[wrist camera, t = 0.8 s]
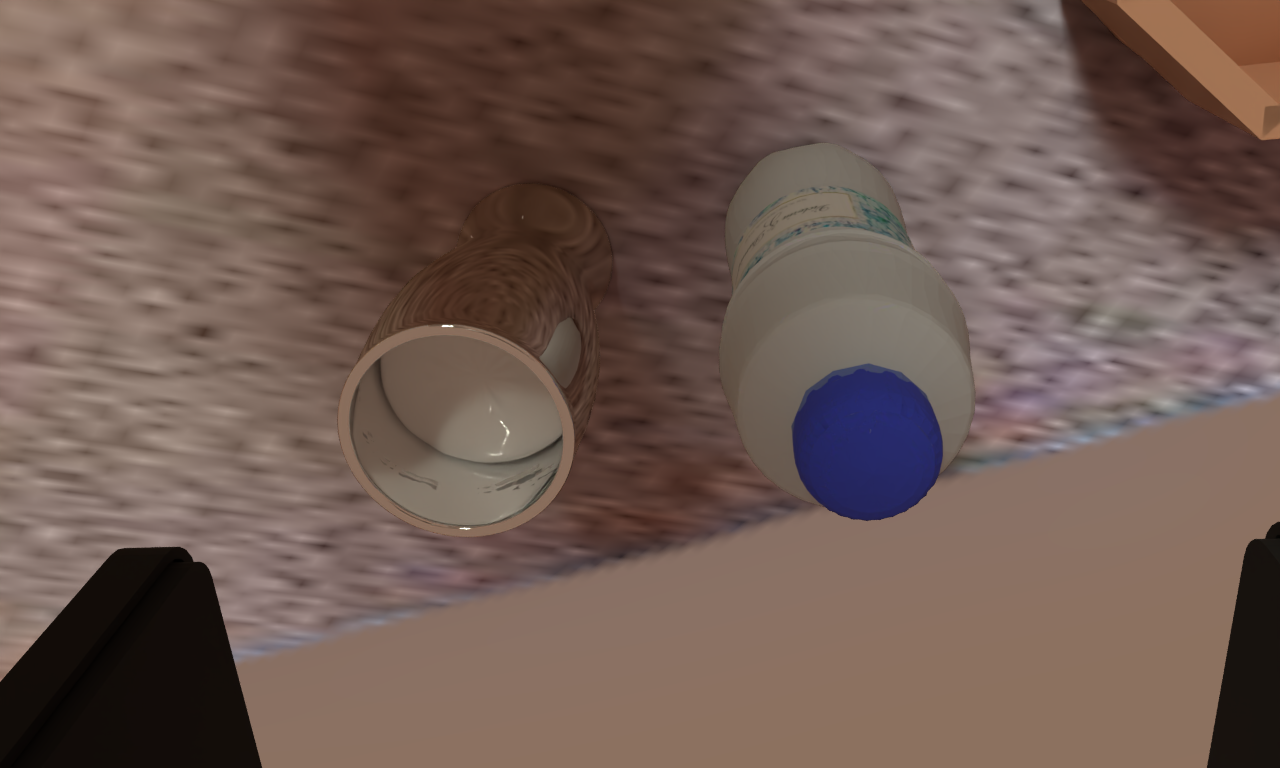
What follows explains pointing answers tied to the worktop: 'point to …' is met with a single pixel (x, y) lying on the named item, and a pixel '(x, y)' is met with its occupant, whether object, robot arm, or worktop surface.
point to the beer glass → (483, 369)
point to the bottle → (840, 338)
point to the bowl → (1208, 53)
